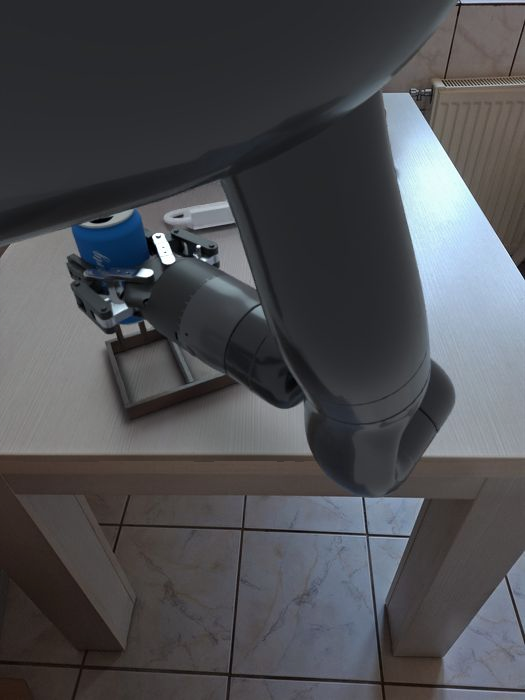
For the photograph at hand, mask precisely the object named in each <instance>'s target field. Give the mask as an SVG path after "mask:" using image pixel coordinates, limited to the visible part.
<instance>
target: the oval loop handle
mask: <svg viewBox="0 0 525 700" xmlns="http://www.w3.org/2000/svg"><path fill="white" fill-rule="evenodd" d="M182 215H183V217H178V216H182ZM163 221H164V223H166V224H168V225H173V226H180V225H186V227H187V228H188V229H190V230H201V229H205V228H212V227H218V226H223V225H230V224H235V221H234V218H233V216H232V213H231V210H230V207H229V205H228V202H227V200H224V201H223V200H222V201H217V202H212V203H211V202H210V203H205V204H199V205H193V206H189V207H182V208H178V209H173V210H170V211H168V212H166V213H165V214H164V215H163Z"/></svg>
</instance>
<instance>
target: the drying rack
mask: <svg viewBox="0 0 525 700" xmlns="http://www.w3.org/2000/svg"><path fill="white" fill-rule="evenodd" d="M137 324H138V325H137V326H138V329H139V330H137V331H135V332H131V333H128V334H125V335H124V333H123V331H122V327H121V325H120V324H117V327H118V330H117V332H115V333H114V334H115V335H116V337H114V338H111V339H108V340H105V341H104V344H105V348H106V351H107V354H108V357H109V360H110V364H111V367H112V371H113V374H114V377H115V380H116V383H117V386H118V389H119V393H120V396H121V400H122V402H123V406H124V409H125V411H126V415H127V416H128V420H132V419H135V418H139V417H141V416H144V415H147V414H150V413H152V412H155V411H159V410H161V409H164V408H167V407H170V406H172V405H175V404H179V403H182V402H184V401H187V400H191V399H194V398H195V397H198V396H202V395H204V394H207V393H210V392H213V391H217V390H219V389H222V388H225V387H228V386H231V385H233V384H237V383H238V382H237V381H235V380H234V379H232V378H231V377H229V376H227V375H226V374H224V373H221V372H219V373H216V374H213V375H210V376H206V377H204V378H200V379H198V380H195V379H194V377H193V375H192V372H191V370H190V368H189V366H188V364H187V362H186V359H185V357H184V355H183V353H182V350H181V349H180V346H179V345H177V344H176V343H174V342H173V341H171V340H170V339H168V338H167V337H166V336H164V335H163V334H161V333H160V332H158V331H157V330H156V329H155V328H154V327H153V326H152V327H146V322H145V320H144V321H142V322H140V323H137ZM163 339H167V341H168V343H169V346H170V348H171V350H172V352H173V354H174V357H175V359H176V361H177V364H178V366H179V368H180V370H181V373H182V374H183V377H184V380H185V381H186V383H187V384H182V385H181V386H177V387H175V388H172V389H168V390H165V391H162V392H158V393H156V394H153V395H151V396H148V397H144V398H142V399H139V400H136V401H133V402H130V399H129V396H128V394H127V390H126V387H125V384H124V380H123V378H122V375H121V371H120V368H119V365H118V362H117V359H116V356H115V354H117V353H121V352H125V351H127V350H131V349H134V348H136V347H140V346H144V345H148V344H151V343H153V342H156V341H160V340H163Z"/></svg>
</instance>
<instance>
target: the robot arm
mask: <svg viewBox="0 0 525 700" xmlns="http://www.w3.org/2000/svg"><path fill="white" fill-rule="evenodd" d="M459 2H460V0H0V248H2V247H5V246H9V245H12V244H15V243H19V242H24V241H26V240H30V239H33V238H38V237H41V236H44V235H47V234H48V235H49V234H51V233H55V232H58V231H62V230H65V229H69V228H72V227H73V226H76V225H80V224H83V223H87V222H90V221H93V220H97V219H100V218H104V217H107V216H111V215H114V214H118V213H121V212H124V211H128V210H131V209H138V208H142V207H145V206H148V205H151V204H155V203H159V202H162V201H164V200H167V199H169V198H174V197H175V196H179V195H181V194H184V193H188V192H191V191H193V190H197V189H200V188H203V187H205V186H208V185H211V184H214V183H218V182H219V185H220V186H221V189H222V191H223V193H224V196H225V199H226V201H227V202H228V205H229V207H230V210H231V213H232V216H233V218H234V221H235V223H234V225H235V227H236V230H237V232H238V236H239V239H240V242H241V245H242V249H243V252H244V254H245V257H246V260H247V264H248V267H249V270H250V273H251V277H252V280H253V283H254V286H255V287H253V286H251V285H250V284H248V283H246V282H244V281H242V280H240V279H238V278H237V277H234V276H233V275H231V274H229V273H227V272H226V271H224V270H222V269H221V262H220V253H219V244H218V243H217V242H214V241H212V240H210V239H207V238H205V237H202V236H200V235H198V234H195V233H193V232H190V231H188V230H185V229H183V228H180V227H174V228H172V229H170V233H168V234H164V233H162V232H154V231H152V230H150V229H148V228H146V227H144V226H143V228H144V232H145V236H146V241H147V245H148V250H149V254H150V256H154V255H155V254H156V258H155V257H151V258H149V259H148V260H146V261H145V262H144V263H143V264H141V265H139V266H136V267H133V268H131V269H126V268H118V267H111V269H110V270H109V271H108V270H100V269H94V266H93V265H91V264H90V263H88V262H86V261H84V260H83V259H82V258H81V257H80V255H78V254H75V253H72V254H69V255H67V256H66V260H67V262H65V265H66V268H67V271H68V273H69V276H70V278H71V279H72V280H73V281H72V282H70V285H69V287H70V289H71V291H72V293H73V296H74V298H75V301H76V305H77V308H78V309H79V310H80V311H81V312H82V313H83V314H85V316H87V318H88V319H89V320H91V321H92V322H93V323H94V324H95V325H96V326H97V327H98V329H100V330H101V331H102V332H103V333H104V334H106V335H113V334H116V333H115V332H117V330H118V327H117V323H118V322H120V321H122V320H124V319H126V318H128V317H130V316H132V317H134V318H140V319H144V321H146V322H147V323H149V325H151V326H152V327H154V328H155V329H156V330H157V331H158V332H160V333H161V334H163V335H164V336H166V339H167V338H168V339H170V340H171V341H173V342H174V343H176V344H177V345H178V346H179V348H181V349H183V350H184V351H185V352H187V354H189V355H190V356H192V357H194V358H196V359H197V360H198V361H200V362H201V363H203V364H204V365H206V366H208V367H209V368H211V369H213V370H215V371H217V372H219V373H224V374H226V375H227V376H229V377H231V378H232V379H234V380H235V381H237V382H236V383H238V384H240V385H241V386H242V387H243V388H245V389H247V390H248V391H249V392H251V393H253V394H254V395H255V396H257V397H258V398H259V399H261V400H262V401H264V402H266V403H267V404H268V405H271V407H274V408H277V409H280V410H290V409H293V408H295V407H297V406H300V405H301V404H303V417H304V418H303V421H304V423H303V425H304V432H305V438H306V441H307V442H306V443H307V445H308V447H309V450H310V452H311V454H312V456H313V458H314V460H315V462H316V463H317V465H318V466H319V467H320V469H321V470H322V471H323V473H324V474H325V475H326V476H327V477H328V478H329V479H330V480H331V481H332V482H334V484H336V485H337V486H338V487H340V488H341V489H343V490H344V491H346V492H348V493H350V494H353V495H355V496H359V497H361V498H367V499H378V498H383V497H387V496H389V495H391V494H393V493H395V492H397V490H399V488H401V487H402V486H403V485H404V483H405V482H406V481H407V480H408V478H409V476H410V475H411V473H412V472H413V471H414V470H415V468H416V466H417V464H418V463H419V461H420V460H421V458H422V457H423V456H424V454H425V453H426V452H427V449H428V448H429V447H430V445H431V444H432V442H433V441H434V439H435V438H436V436H437V434H438V433H439V432H440V430H441V429H442V427H443V426H444V425H445V423H446V422H447V420H448V419H449V417H450V415H451V414H452V412H453V409H454V408H455V405H456V399H457V397H456V388H455V386H454V384H453V382H452V379H451V378H450V377H449V375H448V373H447V372H446V370H445V369H444V368H443V367H442V366H441V365H440V364H439V363H438V362H437V361H436V360H434V359H433V358H431V344H430V343H431V341H430V331H429V321H428V314H427V307H426V306H427V305H426V300H425V295H424V288H423V284H422V278H421V274H420V269H419V266H418V265H419V264H418V260H417V257H416V252H415V248H414V244H413V240H412V236H411V232H410V228H409V224H408V219H407V215H406V211H405V206H404V202H403V198H402V194H401V189H400V186H399V181H398V177H397V171H396V167H395V162H394V157H393V152H392V147H391V142H390V135H389V128H388V121H387V113H386V114H385V110H386V108H385V101H384V95H383V88H384V87H385V85H387V84H388V83H389V82H390V81H391V80H392V79H393V78H394V77H395V76H396V75H397V74H398V73H399V72H400V71H402V70H403V69H404V67H406V65H407V64H409V62H411V61H412V59H414V58H415V56H416V55H417V54H418V53H419V52H420V50H421V49H422V48H423V47H424V46H425V45H426V44H427V43H428V42H429V40H430V39H431V38H432V37H433V36H434V35H435V33H436V32H437V31H438V30H439V28H440V27H441V26H442V24H443V23H444V22H445V20H446V19H447V18H448V17H449V15H450V14H451V13H452V11H453V9H455V7H456V5H458V3H459ZM175 255H177V256H175ZM121 281H124V290H123V287H122V283H121ZM101 282H104V283H106V284H107V286H108V287H106V286H102V284H101ZM103 298H105V299H103ZM110 300H111V301H112V302H110ZM168 339H167V340H168Z"/></svg>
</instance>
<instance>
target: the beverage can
mask: <svg viewBox="0 0 525 700" xmlns="http://www.w3.org/2000/svg"><path fill="white" fill-rule="evenodd" d="M143 227H144V224H143V218H142V215H141V214H140V212H139V211H138V210H137V208H135V209H131V210H128V211H124V212H121V213H118V214H114V215H111V216H107V217H104V218H100V219H97V220H93V221H90V222H87V223H83V224H80V225H76V226H73V227H71V233H72V237H73V239H74V241H75V245H76V248H77V250H78V253H79V257H80V258H82V259H83V260H84V261H86V262H88V263H90V264H91V265H93V266H94V269H100V270H108V271H109V270H110V269H111V267H118V268H126V269H131V268H133V267H136V266H139V265H141V264H143V263H144V262H145V261H146V260H148V259H149V258H150V254H149V250H148V245H147V241H146V236H145V232H144V228H143ZM121 283H122V287H123V290H124V281H121ZM101 284H102V286H106V287H108V286H107V284H106V283H104V282H101ZM103 299H105V298H103ZM110 302H112V301H111V300H110ZM142 321H144V322H145V320H144V319H140V318H134V317H132V316H130V317H128V318H126V319H124V320H122V321H120V322H118V323H117V324H120V326H132V325H136V324H138V323H140V322H142Z"/></svg>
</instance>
